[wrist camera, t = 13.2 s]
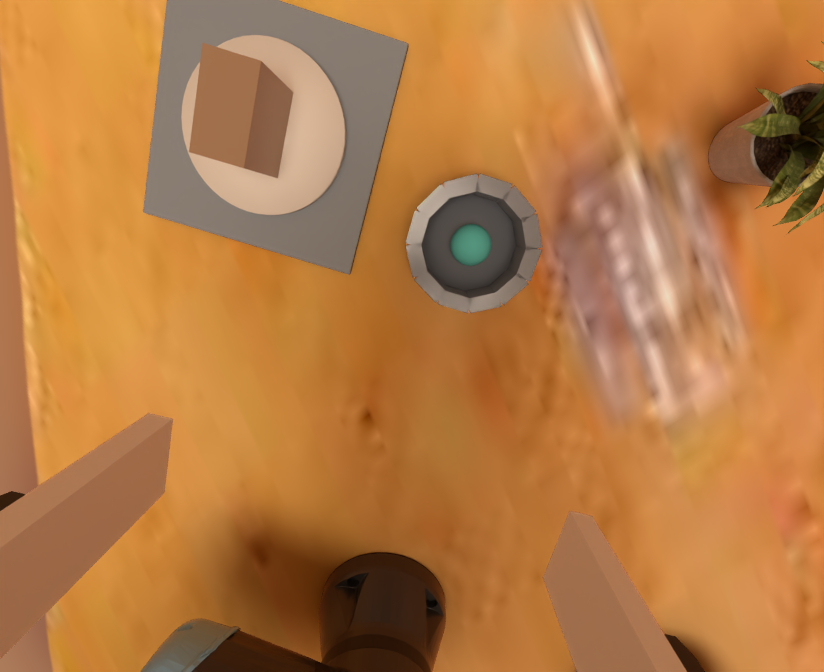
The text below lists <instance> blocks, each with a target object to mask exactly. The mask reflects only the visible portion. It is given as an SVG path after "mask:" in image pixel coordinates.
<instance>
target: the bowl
mask: <svg viewBox="0 0 824 672" xmlns="http://www.w3.org/2000/svg"><path fill="white" fill-rule="evenodd" d="M511 186H512V184H511V183H508V182H505V181H501V180H498V179H495V178H492V177H489V176H486V175H483V174H479V175H478V176H477V174H473V175H470V176H466V177H462V178H458V179H454V180H450V181H446V182H443V185H442V184H440V185H439V186H438V187H437V188H436V189H435V190H434V191H433V192H432V193H431V194H430V195H429V196H428V197H427V198H426V199H425V200H424V201H423V202H422V203H421V204H420V205H419V206H418V207H417V210H418V211H415V212H414V215H413V219H412V222H411V225H410V229H409V232H408V236H407V239H406V243H407V245H406V251H407V255H408V259H409V263H410V268H411V272H412V276H413V277H415V278H414V280H415V281H416V282H417V284H418V285H419V286H420V287H421V288H422V289H423V290H424V291H425V292H426V293H427V294H428V295H429V296H430V297H431V298H432V300H433V301H434V302H435V303H436V302H437V301H438V304H439V305H442V306H445V307H449V308H452V309H455V310H459V311H462V312H465V313H468V311H470V313H474V312H479V311H483V310H488V309H492V308H497V307H501V303H502V304H503V305H505V304H506V303H507V302H508V301H509V300H510V299H512V298H513V297H514V296H515V295H516V294H517V293H518V292H520V291H521V290H522V289H523V288H524V287H525V286H527V285H528V283H527V281H531V278H532V275H533V273H534V270H535V267H536V265H537V262H538V260H539V257H540V254H541V252H542V250H540V249H537V248H541V247H542V241H541V235H540V228H539V222H538V215H537V214H534V213H535V212H536V211H535V209H534V208H533V207H532V206H531V205H530V203H529V202H528V201H527V200H526V199H525V197H524V196H523V195H522V194H521V193H520V191H519V190H518V189H517V188H516V187H515V186H513V187H511ZM467 224H476V225H479V226H481V227H483V228H484V229H485V230H486V231H487V232H488V234H489V235H490V238H491V243H492V244H491V251H490V253H489V255H488V257H487V258H486V259H485V260H484V261H483V262H482V263H480V264H478V265H474V266H467V265H463V264H461V263H459V262H458V261H457V260H456V259H455V258H454V257H453V255H452V253H451V248H450V243H451V239H452V236H453V234H454V233H455V232H456V230H458V229H459V228H460V227H462V226H464V225H467ZM526 280H527V281H526Z"/></svg>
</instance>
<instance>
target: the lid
mask: <svg viewBox="0 0 824 672" xmlns="http://www.w3.org/2000/svg"><path fill="white" fill-rule="evenodd" d="M181 118H182V131H183V136H184V141H185V145H186V148H187V151H188V154H189V156H190V158H191V161H192V163H193V165H194V166H195V168H196V170H197V172H198V173H199V175H200V176H201V177H202V179H203V180H204V182H205V183H206V184H207V185H208V186H209V187H210V188H211V189H212V190H213V191H214V192H215V193H216V194H217V195H218V196H220V197H221V198H222V199H224V200H225V201H227V202H228V203H230V204H232V205H234V206H236V207H238V208H240V209H242V210H245V211H248V212H252V213H256V214H264V215H284V214H289V213H294V212H296V211H299V210H302V209H304V208H306V207H308V206H310V205H311V204H313V203H314V202H316V201H317V200H318V199H319V198H321V197H322V196H323V195H324V194H325V193H326V192H327V190H328V189H329V188H330V187H331V185H332V184H333V182H334V180H335V179H336V177H337V175H338V173H339V171H340V168H341V166H342V162H343V159H344V155H345V149H346V135H347V133H346V122H345V117H344V112H343V108H342V105H341V102H340V99H339V97H338V95H337V93H336V91H335V89H334V87H333V85H332V84H331V82H330V80H329V79H328V77H327V76H326V74H325V73H324V72H323V71H322V69H321V68H320V67H319V66H318V64H317V63H316V62H315V61H314V60H313V59H312V58H311V57H310V56H308V55H307V54H306V53H304V52H303V51H302V50H300V49H299V48H297V47H296V46H294V45H292V44H290V43H288V42H286V41H283V40H281V39H278V38H274V37H270V36H263V35H248V36H241V37H237V38H233V39H231V40H228V41H226V42H223V43H222V44H220V45H218V46H217V47H215V46H212V45H209V44H205V43H202V51H201V59H200V62H199V63H198V65H197V67H196V68H195V70H194V71H193V73H192V75H191V77H190V79H189V81H188V83H187V87H186V90H185V93H184V98H183V103H182V116H181Z"/></svg>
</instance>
